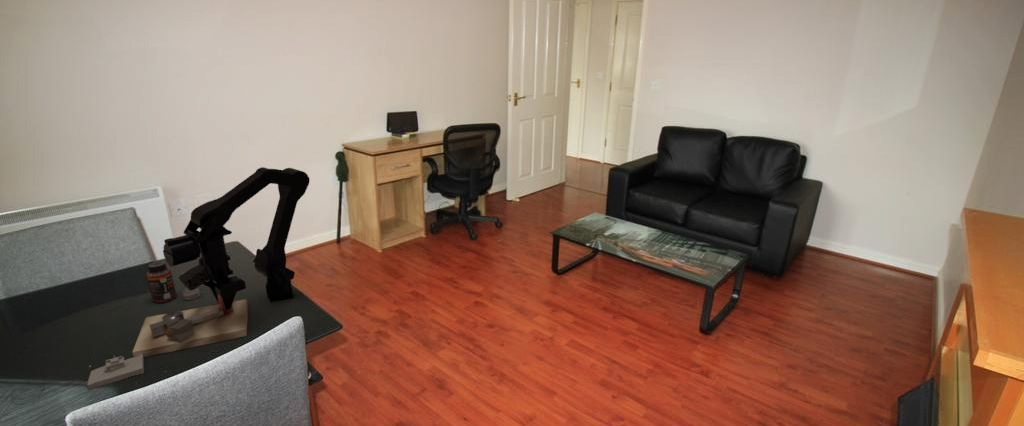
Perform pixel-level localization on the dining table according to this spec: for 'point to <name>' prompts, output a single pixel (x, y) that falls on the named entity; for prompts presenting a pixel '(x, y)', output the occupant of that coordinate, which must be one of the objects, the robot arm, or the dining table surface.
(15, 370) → the dining table surface
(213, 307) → the base
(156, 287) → the supplement bottle
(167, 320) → the lever
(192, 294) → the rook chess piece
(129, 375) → the beige platform
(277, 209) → the robot arm
